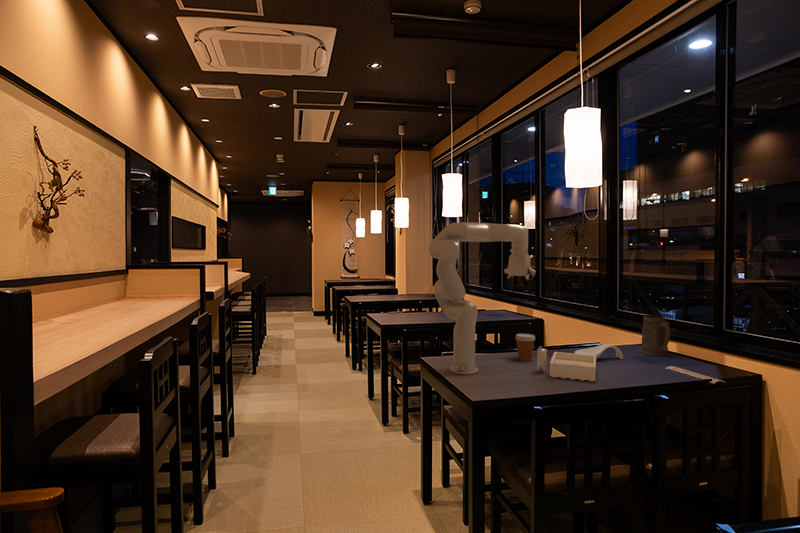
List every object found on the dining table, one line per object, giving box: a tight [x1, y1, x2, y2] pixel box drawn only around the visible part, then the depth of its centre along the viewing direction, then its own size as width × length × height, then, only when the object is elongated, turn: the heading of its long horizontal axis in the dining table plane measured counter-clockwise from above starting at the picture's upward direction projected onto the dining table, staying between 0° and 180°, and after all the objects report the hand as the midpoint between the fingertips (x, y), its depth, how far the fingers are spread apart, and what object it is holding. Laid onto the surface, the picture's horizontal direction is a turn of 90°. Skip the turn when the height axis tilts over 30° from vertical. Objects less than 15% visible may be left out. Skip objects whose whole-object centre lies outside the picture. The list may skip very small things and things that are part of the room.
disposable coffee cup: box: [515, 333, 536, 362], centre depth 226 cm, size 10×10×12 cm
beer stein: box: [641, 314, 672, 357], centre depth 237 cm, size 15×11×20 cm
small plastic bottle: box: [536, 347, 548, 373], centre depth 205 cm, size 4×4×10 cm
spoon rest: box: [574, 343, 624, 360], centre depth 228 cm, size 24×12×7 cm, turn 100°
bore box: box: [549, 351, 597, 382], centre depth 203 cm, size 22×18×6 cm
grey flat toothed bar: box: [665, 365, 726, 385], centre depth 199 cm, size 24×7×2 cm, turn 17°
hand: (519, 287), depth 220 cm, fingers open, 9 cm apart
